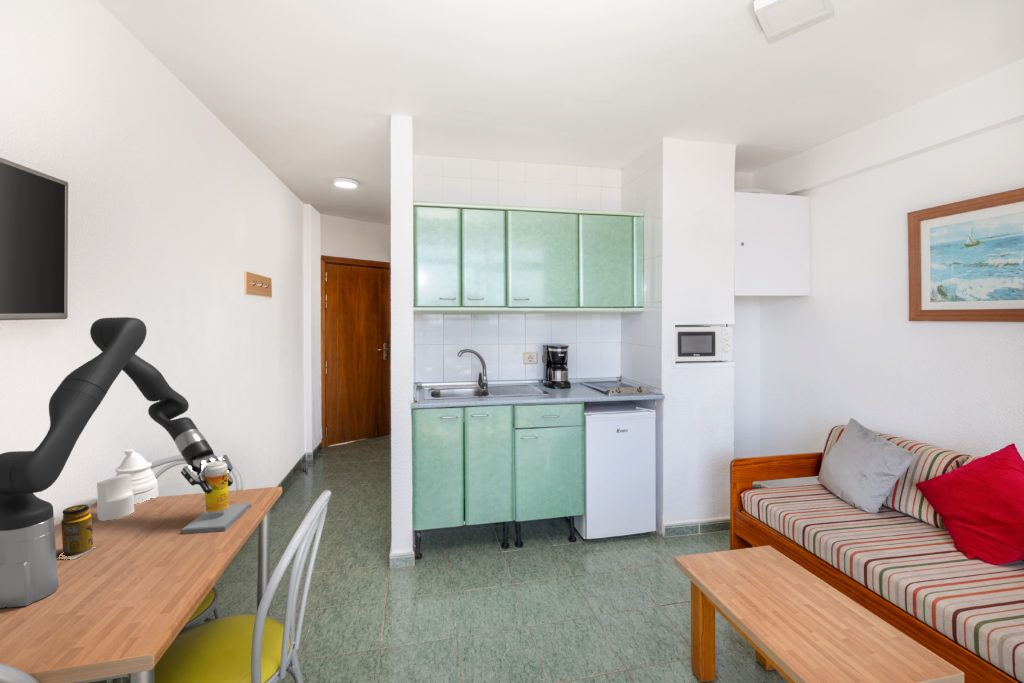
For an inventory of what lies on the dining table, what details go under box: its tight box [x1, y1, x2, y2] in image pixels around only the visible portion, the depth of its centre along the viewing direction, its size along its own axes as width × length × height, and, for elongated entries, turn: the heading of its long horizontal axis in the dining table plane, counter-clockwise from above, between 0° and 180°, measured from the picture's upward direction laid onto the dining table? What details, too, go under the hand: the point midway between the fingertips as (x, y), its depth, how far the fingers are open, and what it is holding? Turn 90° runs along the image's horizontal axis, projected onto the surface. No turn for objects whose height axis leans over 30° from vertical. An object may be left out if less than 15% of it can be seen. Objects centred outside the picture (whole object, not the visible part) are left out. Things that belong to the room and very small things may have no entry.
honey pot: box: [114, 448, 159, 505], centre depth 163 cm, size 13×13×18 cm
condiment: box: [56, 504, 97, 561], centre depth 126 cm, size 7×8×12 cm
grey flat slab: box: [180, 502, 252, 535], centre depth 146 cm, size 18×12×1 cm, turn 7°
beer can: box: [204, 461, 230, 514], centre depth 145 cm, size 6×6×15 cm
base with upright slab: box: [96, 474, 135, 522], centre depth 150 cm, size 9×9×12 cm
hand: (220, 488), depth 144 cm, fingers closed on beer can, 6 cm apart
